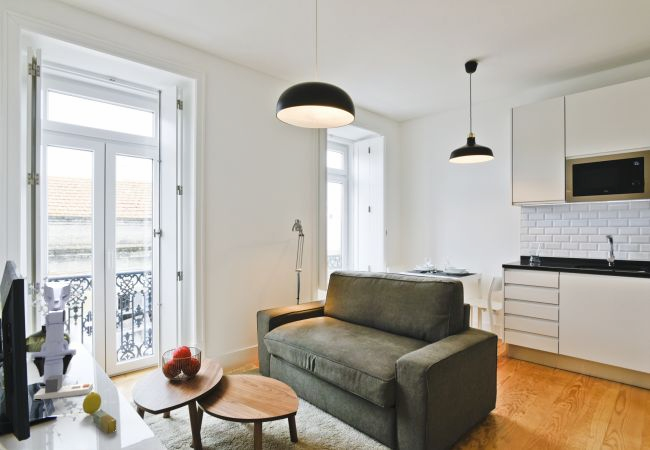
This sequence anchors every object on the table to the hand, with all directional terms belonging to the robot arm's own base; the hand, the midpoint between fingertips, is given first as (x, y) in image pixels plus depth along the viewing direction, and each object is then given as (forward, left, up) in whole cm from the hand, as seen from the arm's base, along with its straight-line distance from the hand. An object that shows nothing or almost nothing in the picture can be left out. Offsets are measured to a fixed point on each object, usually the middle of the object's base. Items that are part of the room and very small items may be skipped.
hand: (53, 374), depth 143 cm
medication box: (+34, +25, -9) cm, 43 cm away
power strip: (0, +4, -9) cm, 10 cm away
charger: (0, 0, -8) cm, 8 cm away
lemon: (+23, +19, -9) cm, 31 cm away
